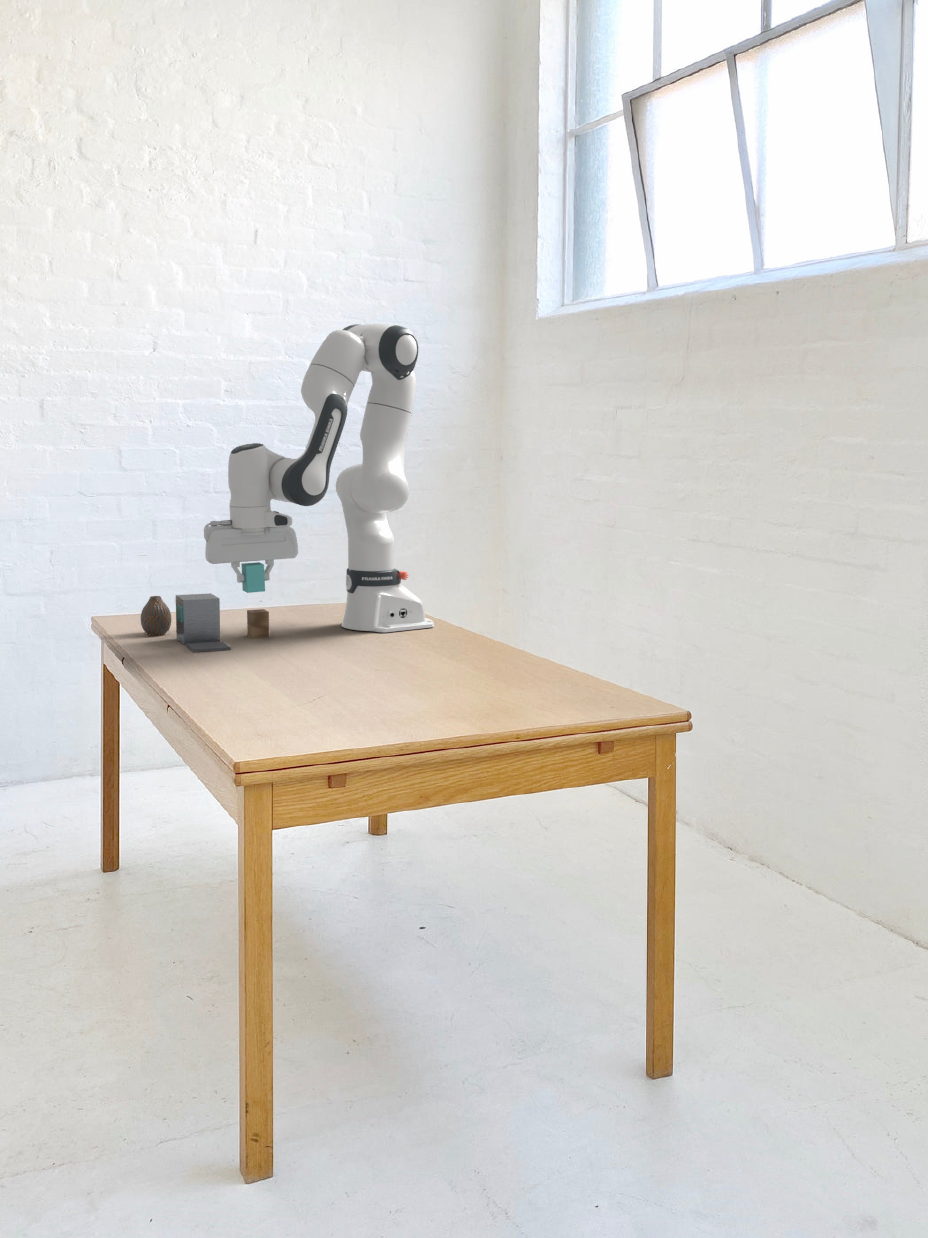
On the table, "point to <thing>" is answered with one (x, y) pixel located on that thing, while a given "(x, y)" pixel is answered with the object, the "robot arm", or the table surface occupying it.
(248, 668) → the table surface
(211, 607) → the block
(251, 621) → the walnut block
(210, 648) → the pad
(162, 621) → the vase
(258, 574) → the teal block
